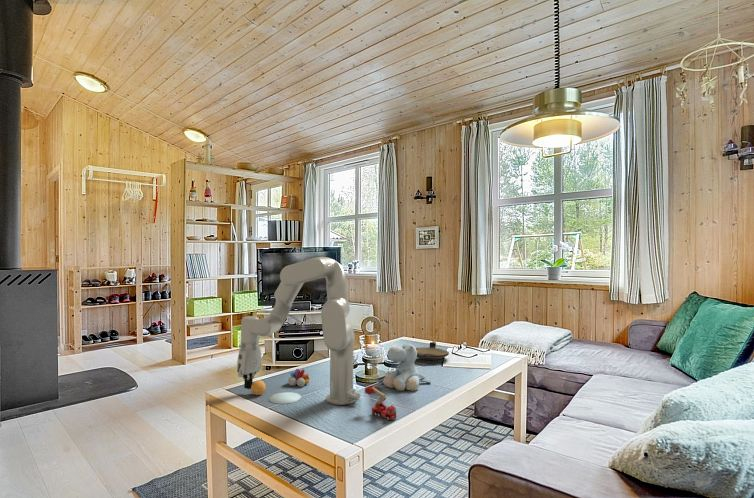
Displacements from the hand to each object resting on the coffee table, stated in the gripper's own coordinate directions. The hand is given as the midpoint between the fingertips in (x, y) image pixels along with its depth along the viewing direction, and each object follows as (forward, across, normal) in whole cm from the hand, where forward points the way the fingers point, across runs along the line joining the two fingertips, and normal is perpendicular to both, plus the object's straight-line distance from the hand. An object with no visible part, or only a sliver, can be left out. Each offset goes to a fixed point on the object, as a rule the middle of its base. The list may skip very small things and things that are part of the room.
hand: (248, 388), depth 179 cm
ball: (-1, +2, -4) cm, 5 cm away
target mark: (+2, +4, -17) cm, 18 cm away
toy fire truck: (+1, +10, -60) cm, 61 cm away
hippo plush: (+1, +49, -51) cm, 71 cm away
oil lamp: (0, +96, -42) cm, 105 cm away
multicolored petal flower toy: (+2, +21, -10) cm, 23 cm away
